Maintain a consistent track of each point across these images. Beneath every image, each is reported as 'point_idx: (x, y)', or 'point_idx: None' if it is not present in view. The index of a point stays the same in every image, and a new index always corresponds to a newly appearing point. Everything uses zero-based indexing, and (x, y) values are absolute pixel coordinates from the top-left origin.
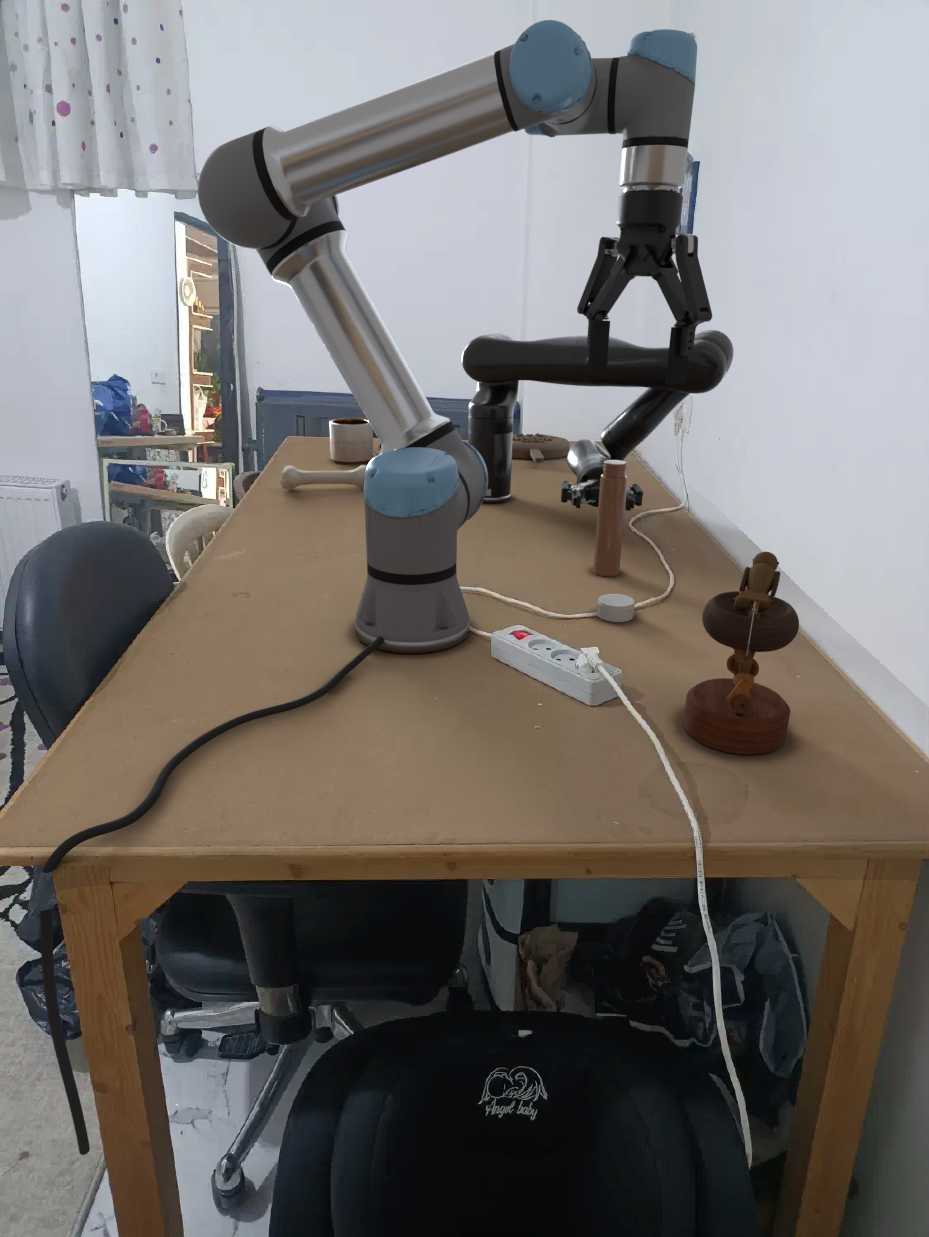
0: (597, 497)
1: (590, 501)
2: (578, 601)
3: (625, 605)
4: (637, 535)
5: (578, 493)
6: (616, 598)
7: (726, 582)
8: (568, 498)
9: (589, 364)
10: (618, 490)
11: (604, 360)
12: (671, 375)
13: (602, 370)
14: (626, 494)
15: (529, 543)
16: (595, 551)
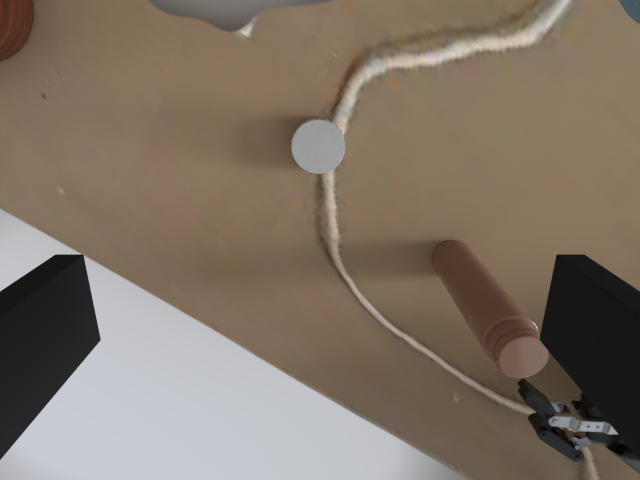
0: None
1: None
2: (390, 139)
3: (294, 142)
4: None
5: None
6: (322, 152)
7: (322, 357)
8: None
9: (600, 272)
10: (478, 318)
11: (572, 357)
12: (31, 273)
13: (550, 324)
14: (550, 407)
15: (627, 254)
16: (472, 254)
